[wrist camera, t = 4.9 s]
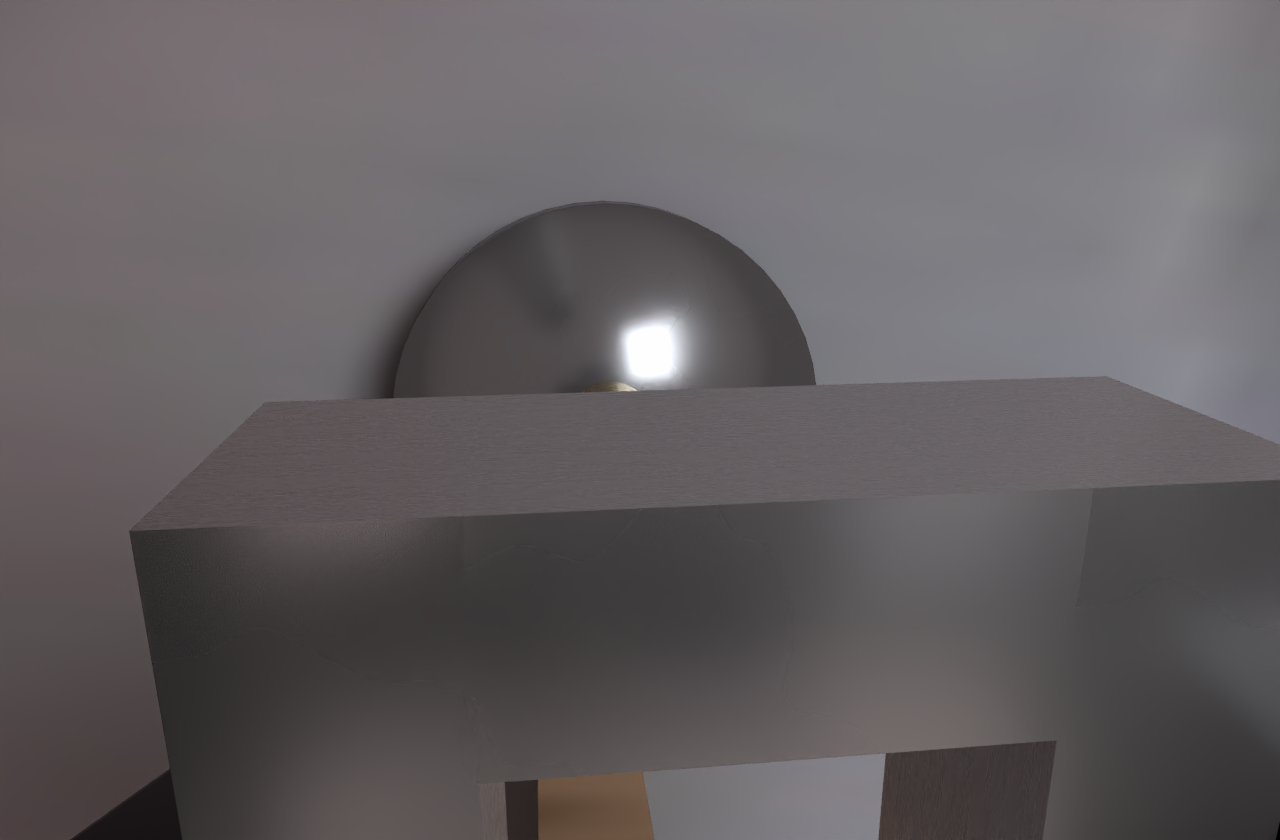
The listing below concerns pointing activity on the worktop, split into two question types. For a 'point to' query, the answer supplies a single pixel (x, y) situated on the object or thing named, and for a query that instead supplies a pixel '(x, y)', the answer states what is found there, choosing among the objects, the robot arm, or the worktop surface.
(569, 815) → the stand
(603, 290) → the hub
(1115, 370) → the worktop surface
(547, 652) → the square frame block
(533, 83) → the worktop surface
